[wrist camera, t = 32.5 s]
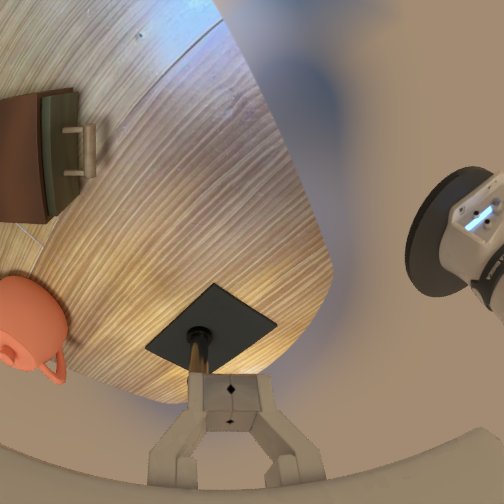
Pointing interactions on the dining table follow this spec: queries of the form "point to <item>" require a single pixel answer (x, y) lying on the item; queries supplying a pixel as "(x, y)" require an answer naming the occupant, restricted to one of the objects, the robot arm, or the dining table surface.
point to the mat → (212, 329)
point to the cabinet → (22, 159)
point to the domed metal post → (198, 348)
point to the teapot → (31, 327)
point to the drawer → (64, 150)
